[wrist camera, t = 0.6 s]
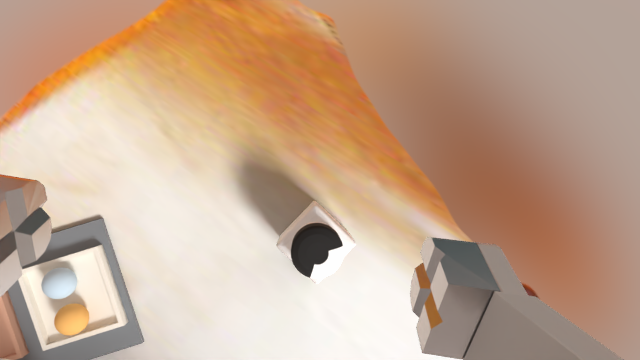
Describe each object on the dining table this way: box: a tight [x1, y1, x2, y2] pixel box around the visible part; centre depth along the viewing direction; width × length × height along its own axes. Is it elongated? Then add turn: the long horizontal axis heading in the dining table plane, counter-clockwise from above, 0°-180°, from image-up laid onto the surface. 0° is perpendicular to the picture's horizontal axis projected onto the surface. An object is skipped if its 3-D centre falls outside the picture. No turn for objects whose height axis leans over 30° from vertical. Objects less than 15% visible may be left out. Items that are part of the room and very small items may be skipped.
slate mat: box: [8, 218, 144, 360], centre depth 58 cm, size 18×27×1 cm, turn 107°
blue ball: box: [41, 268, 77, 299], centre depth 56 cm, size 4×4×4 cm
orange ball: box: [54, 303, 89, 335], centre depth 56 cm, size 4×4×4 cm
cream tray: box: [18, 245, 128, 351], centre depth 57 cm, size 11×11×1 cm
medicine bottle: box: [277, 201, 356, 284], centre depth 54 cm, size 7×7×12 cm
